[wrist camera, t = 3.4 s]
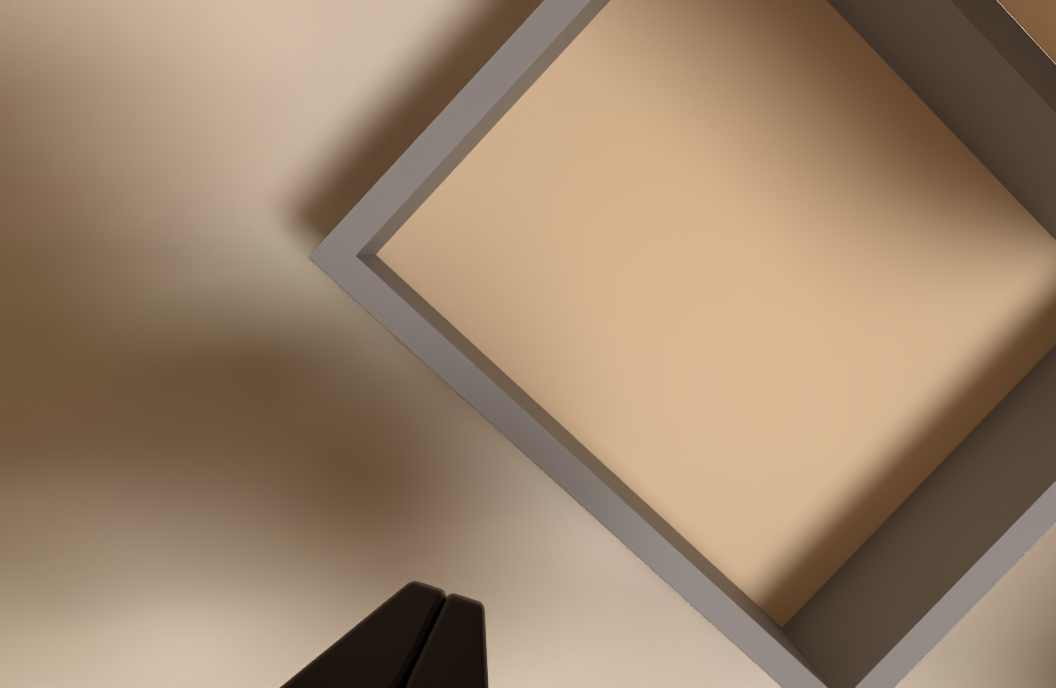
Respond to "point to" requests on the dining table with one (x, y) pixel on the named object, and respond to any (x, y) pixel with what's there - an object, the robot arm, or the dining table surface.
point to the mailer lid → (1036, 21)
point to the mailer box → (752, 300)
